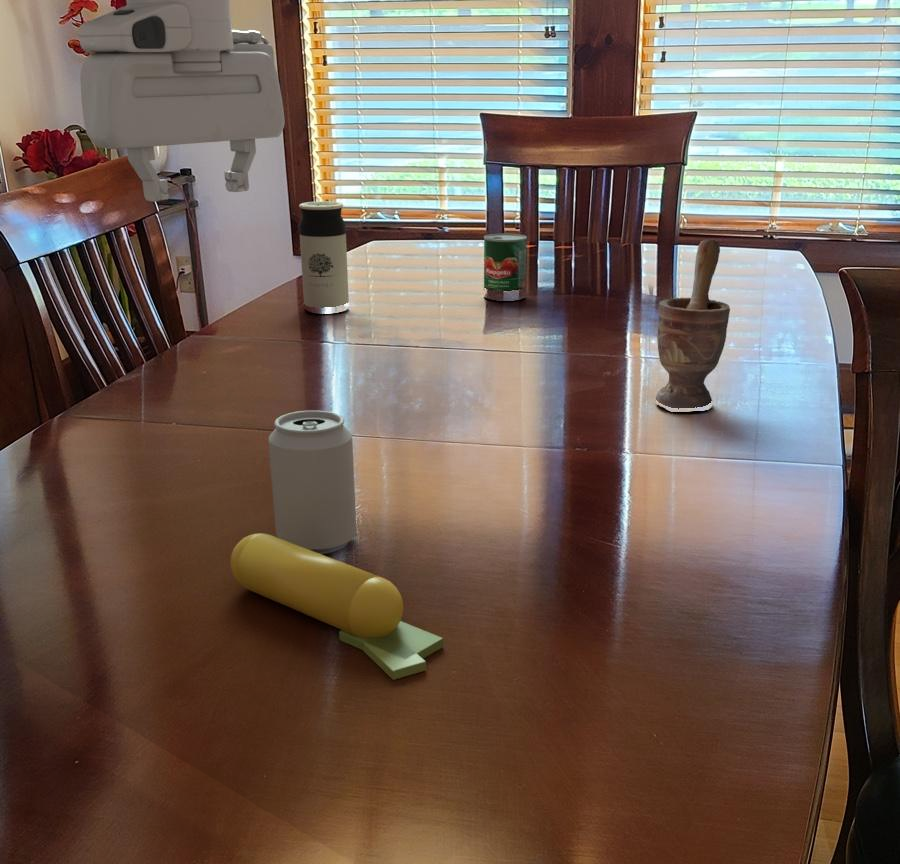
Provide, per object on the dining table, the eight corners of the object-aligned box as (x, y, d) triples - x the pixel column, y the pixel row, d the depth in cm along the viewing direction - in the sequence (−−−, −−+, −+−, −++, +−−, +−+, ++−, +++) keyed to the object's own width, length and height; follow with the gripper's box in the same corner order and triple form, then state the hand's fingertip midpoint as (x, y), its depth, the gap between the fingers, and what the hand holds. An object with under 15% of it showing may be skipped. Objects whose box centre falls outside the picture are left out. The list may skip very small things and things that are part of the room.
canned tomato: (523, 293, 205) (524, 233, 201) (527, 301, 198) (529, 239, 194) (481, 293, 205) (482, 233, 200) (484, 302, 198) (485, 240, 193)
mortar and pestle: (644, 389, 147) (656, 236, 138) (708, 390, 146) (725, 236, 137) (655, 415, 136) (669, 251, 127) (724, 415, 136) (743, 251, 127)
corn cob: (207, 596, 91) (201, 542, 89) (265, 571, 96) (260, 519, 93) (402, 684, 78) (401, 624, 76) (459, 650, 83) (459, 592, 80)
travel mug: (316, 304, 197) (310, 200, 189) (356, 307, 194) (352, 202, 186) (296, 313, 190) (289, 205, 182) (337, 316, 188) (332, 207, 180)
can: (353, 523, 105) (347, 404, 100) (360, 555, 99) (355, 428, 93) (275, 529, 104) (265, 408, 99) (278, 561, 97) (267, 433, 92)
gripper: (248, 31, 104) (260, 184, 110) (60, 28, 90) (86, 203, 96) (293, 30, 100) (303, 188, 106) (104, 26, 86) (128, 209, 92)
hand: (198, 195), depth 101 cm, fingers open, 8 cm apart
